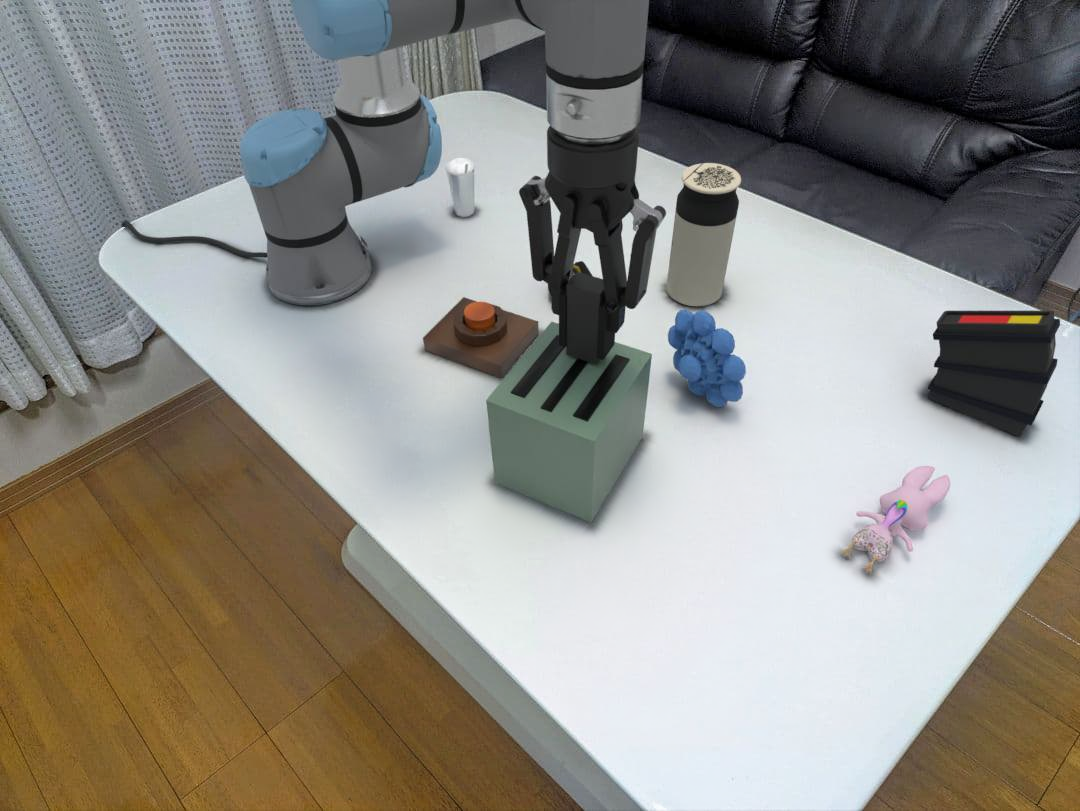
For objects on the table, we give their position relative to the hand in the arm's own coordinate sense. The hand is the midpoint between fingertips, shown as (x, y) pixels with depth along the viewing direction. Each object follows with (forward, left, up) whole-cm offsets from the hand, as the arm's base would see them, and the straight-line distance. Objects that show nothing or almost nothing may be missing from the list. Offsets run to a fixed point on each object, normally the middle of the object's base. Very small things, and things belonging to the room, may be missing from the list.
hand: (586, 344), depth 76 cm
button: (-20, +10, -11) cm, 25 cm away
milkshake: (-40, +37, -15) cm, 56 cm away
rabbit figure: (+34, +4, -15) cm, 37 cm away
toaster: (0, -3, -15) cm, 15 cm away
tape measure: (-14, +25, -15) cm, 32 cm away
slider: (0, 0, -1) cm, 1 cm away
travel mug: (+1, +33, -15) cm, 36 cm away
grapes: (+9, +13, -15) cm, 21 cm away
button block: (-20, +10, -15) cm, 27 cm away
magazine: (+39, +26, -15) cm, 49 cm away
